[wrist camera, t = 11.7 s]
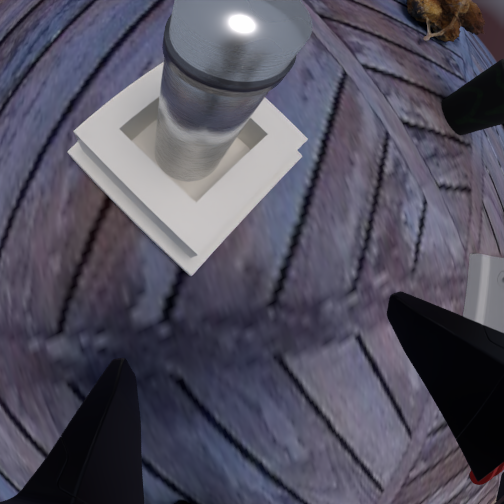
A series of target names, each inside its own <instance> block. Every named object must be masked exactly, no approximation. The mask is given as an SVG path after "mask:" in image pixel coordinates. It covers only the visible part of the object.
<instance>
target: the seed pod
mask: <svg viewBox="0 0 504 504" xmlns="http://www.w3.org/2000/svg"><path fill="white" fill-rule="evenodd" d="M407 6H408V9H407V10H408V12H409V14H410V15H411V16H412V17H414V18H416V20H418V21H420V22H426V23H427V30H428V32H427V36H424V38H423V40H425V41H426V42H427V41H428V40H429V39H430V37H434V36H435V37H436V38H438V39H439V40H442V41H445V42H447V41H452V42H454V40H455V39H456V38H457V37H459V33H460V31H459V28H460V26H462V27H464V28H465V30H466V31H470V32H471V33H472V34H473V33H475V34H476V35H478V34H480V33H483V34H484V31H483V26H484V23H485V21H484V19H483V17H482V14H481V12H480V9H479V8H478V7H477V4H476V3H473V2H472V1H471V0H407ZM430 25H431V26H432V29H433V31H434V33H433V34H431V33H432V32H431V31H430Z"/></svg>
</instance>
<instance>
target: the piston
mask: <svg viewBox="0 0 504 504" xmlns="http://www.w3.org/2000/svg"><path fill="white" fill-rule="evenodd" d="M311 33H312V20H311V17H310V15H309V13H308V11H307V9H306V8H305V6H304V5H303V4H302V2H301V1H300V0H175V2H174V6H173V11H172V14H171V16H170V17H169V19H168V21H167V23H166V26H165V32H164V38H163V54H164V57H165V58H164V65H163V72H162V79H161V87H160V96H159V105H158V115H157V126H156V138H155V157H156V161H157V163H158V165H159V166H160V168H161V169H162V170H163V171H164V172H165V173H166V174H167V175H169V176H170V177H172V178H174V179H177V180H180V181H186V182H192V181H198V180H201V179H203V178H206V177H207V176H209V175H210V174H211V173H213V172H214V170H215V169H216V168H217V167H218V165H219V163H220V162H221V160H222V159H223V157H224V156H225V154H226V153H227V151H228V150H229V148H230V147H231V145H232V144H233V142H234V141H235V139H236V138H237V136H238V135H239V133H240V132H241V130H242V129H243V127H244V126H245V124H246V123H247V122H248V120H249V119H250V117H251V116H252V114H253V113H254V112H255V110H256V109H257V107H258V106H259V104H260V103H261V102H262V100H263V99H264V97H265V96H266V95H267V93H268V92H269V91H270V90H271V89H273V88H274V87H276V86H277V85H278V84H279V83H280V82H281V81H282V80H283V78H284V77H285V76H286V74H287V73H288V72H289V71H290V69H291V68H292V66H293V64H294V62H295V59H296V55H297V53H298V52H299V51H300V50H301V48H302V47H303V46H304V44H305V43H306V42H307V41H308V39H309V38H310V36H311Z"/></svg>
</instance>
